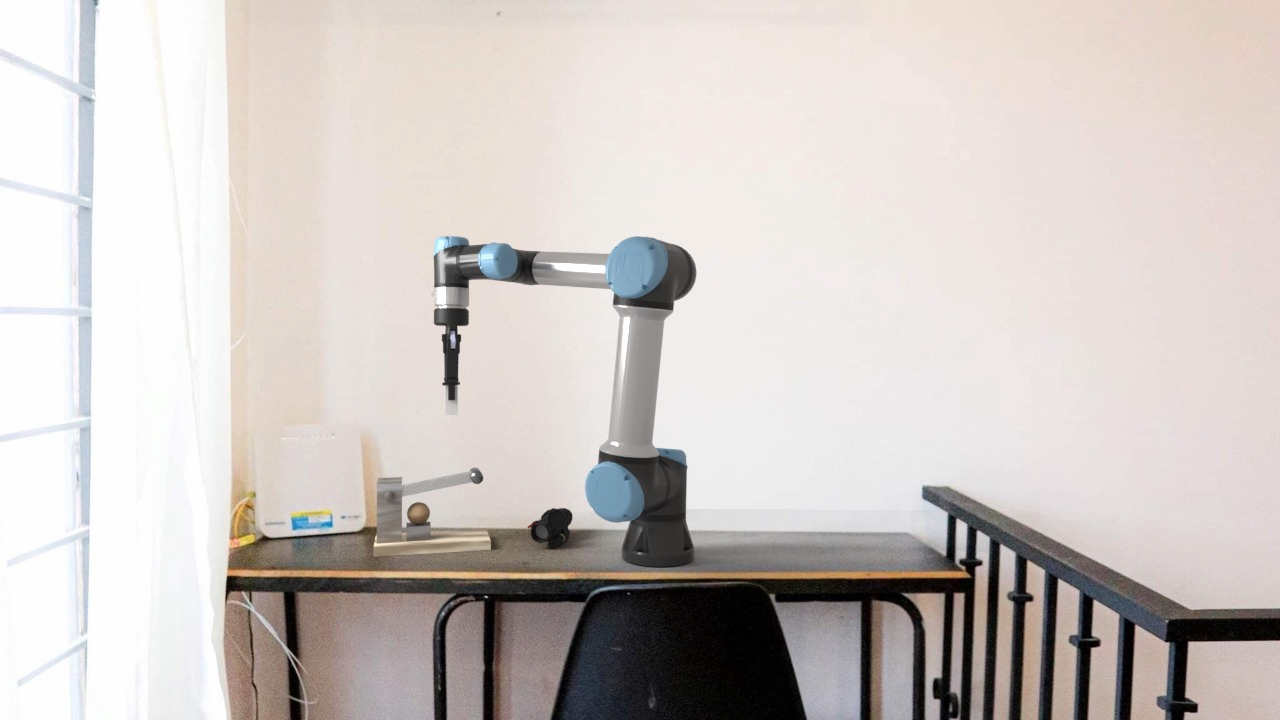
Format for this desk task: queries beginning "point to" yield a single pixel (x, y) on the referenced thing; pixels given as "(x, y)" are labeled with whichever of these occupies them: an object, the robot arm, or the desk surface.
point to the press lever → (443, 482)
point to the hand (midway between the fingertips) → (451, 414)
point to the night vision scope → (552, 527)
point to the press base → (437, 543)
